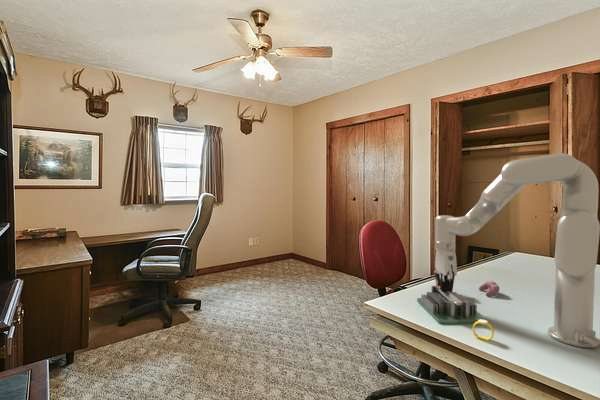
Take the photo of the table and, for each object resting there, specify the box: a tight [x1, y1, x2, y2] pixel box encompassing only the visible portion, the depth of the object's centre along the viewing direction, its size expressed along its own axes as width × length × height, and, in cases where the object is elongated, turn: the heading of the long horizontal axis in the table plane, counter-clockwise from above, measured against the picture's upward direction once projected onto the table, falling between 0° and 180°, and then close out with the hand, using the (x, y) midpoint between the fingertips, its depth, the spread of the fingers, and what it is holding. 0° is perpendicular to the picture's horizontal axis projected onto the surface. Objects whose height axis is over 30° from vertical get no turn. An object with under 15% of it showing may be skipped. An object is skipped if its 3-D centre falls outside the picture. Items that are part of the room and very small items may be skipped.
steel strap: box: [435, 285, 464, 306], centre depth 124 cm, size 18×3×1 cm, turn 179°
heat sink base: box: [416, 285, 487, 325], centre depth 124 cm, size 22×17×7 cm
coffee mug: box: [434, 269, 456, 292], centre depth 144 cm, size 12×9×10 cm
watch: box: [471, 319, 495, 341], centre depth 102 cm, size 6×3×6 cm, turn 55°
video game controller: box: [478, 280, 500, 298], centre depth 145 cm, size 10×5×7 cm, turn 169°
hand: (444, 290), depth 128 cm, fingers closed
